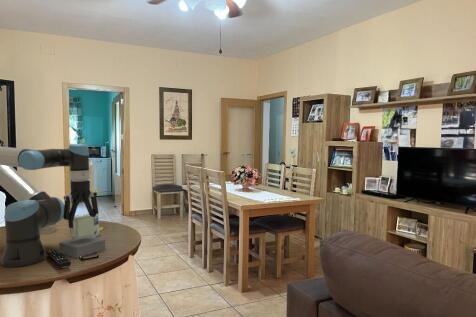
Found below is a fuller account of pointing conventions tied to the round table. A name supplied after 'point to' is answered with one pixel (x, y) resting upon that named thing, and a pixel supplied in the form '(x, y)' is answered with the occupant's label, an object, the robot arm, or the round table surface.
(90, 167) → the candle
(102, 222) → the round table surface
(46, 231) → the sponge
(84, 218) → the green cube
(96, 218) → the light bulb box
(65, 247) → the base block
